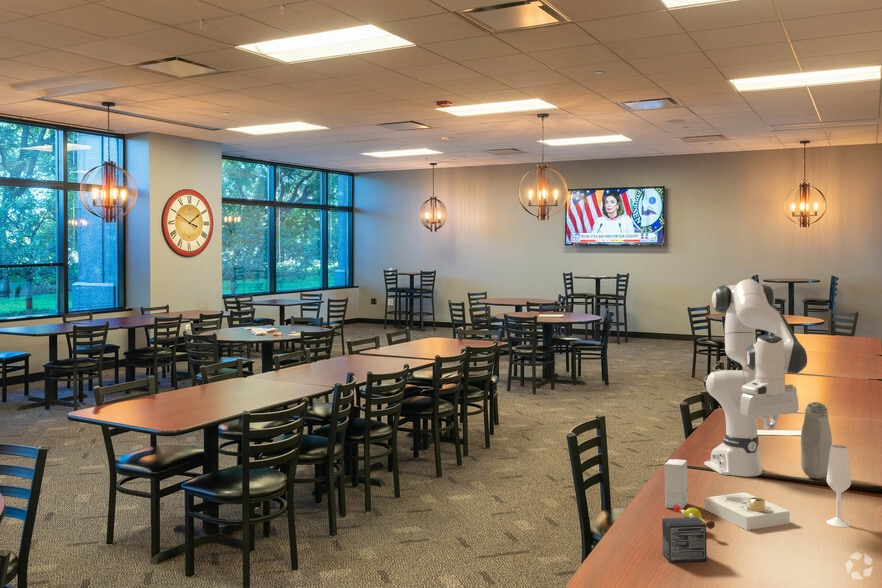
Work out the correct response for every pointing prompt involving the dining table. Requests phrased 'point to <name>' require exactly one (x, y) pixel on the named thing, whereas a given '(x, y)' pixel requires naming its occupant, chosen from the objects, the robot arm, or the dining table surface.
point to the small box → (684, 539)
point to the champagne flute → (838, 479)
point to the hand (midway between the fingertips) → (769, 428)
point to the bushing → (757, 504)
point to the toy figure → (693, 515)
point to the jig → (746, 511)
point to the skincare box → (676, 483)
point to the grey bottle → (815, 441)
